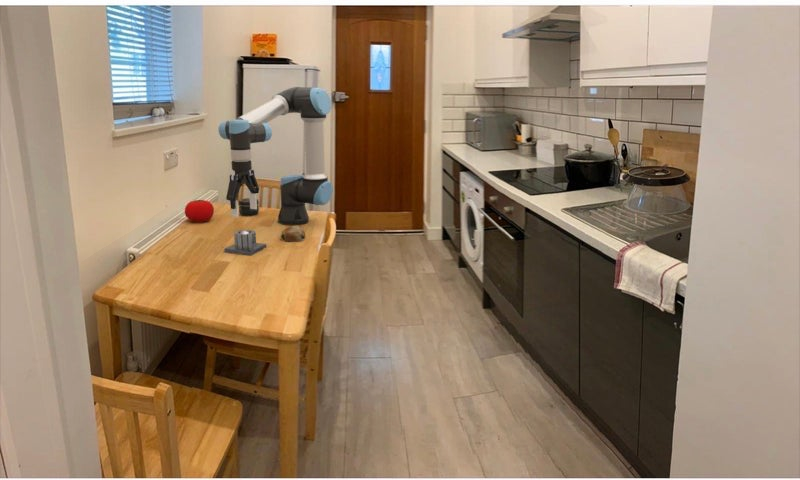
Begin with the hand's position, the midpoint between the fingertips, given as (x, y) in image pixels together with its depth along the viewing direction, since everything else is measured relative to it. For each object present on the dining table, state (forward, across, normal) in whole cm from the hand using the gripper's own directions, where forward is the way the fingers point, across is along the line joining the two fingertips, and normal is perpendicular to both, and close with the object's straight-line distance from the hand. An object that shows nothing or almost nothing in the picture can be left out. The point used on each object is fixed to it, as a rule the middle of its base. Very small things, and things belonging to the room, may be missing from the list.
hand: (244, 212), depth 219 cm
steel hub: (+14, +1, 0) cm, 14 cm away
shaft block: (+16, +1, 0) cm, 16 cm away
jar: (+17, -54, -32) cm, 65 cm away
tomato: (+16, -33, -46) cm, 59 cm away
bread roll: (+16, -21, +10) cm, 29 cm away
